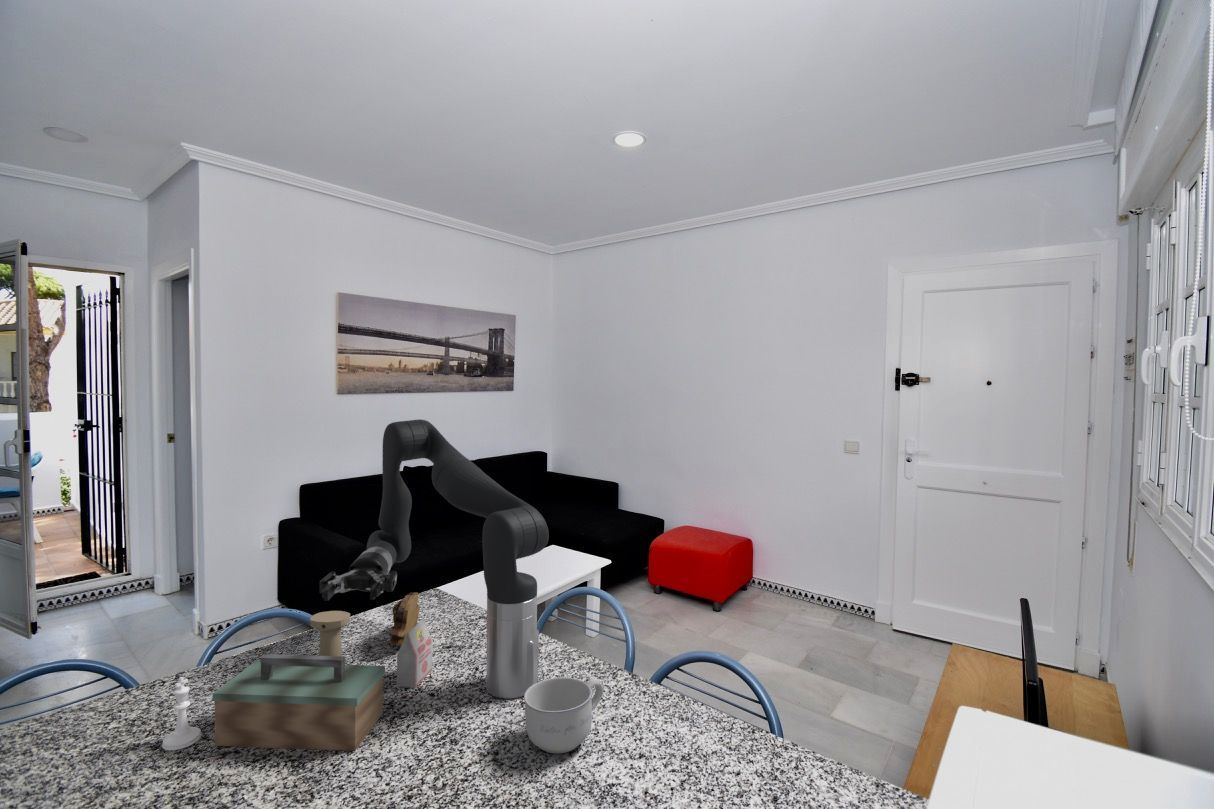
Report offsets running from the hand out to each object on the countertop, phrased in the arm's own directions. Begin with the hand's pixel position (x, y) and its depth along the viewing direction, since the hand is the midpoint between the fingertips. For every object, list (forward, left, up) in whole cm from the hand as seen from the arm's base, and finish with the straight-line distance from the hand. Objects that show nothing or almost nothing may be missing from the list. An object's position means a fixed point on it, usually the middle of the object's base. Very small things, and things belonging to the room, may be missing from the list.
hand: (349, 595), depth 111 cm
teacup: (-45, +20, -15) cm, 51 cm away
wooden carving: (-6, -12, -15) cm, 20 cm away
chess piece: (+15, +24, -15) cm, 32 cm away
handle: (-2, +11, -15) cm, 19 cm away
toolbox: (-2, +16, -15) cm, 21 cm away
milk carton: (-14, +3, -15) cm, 21 cm away
